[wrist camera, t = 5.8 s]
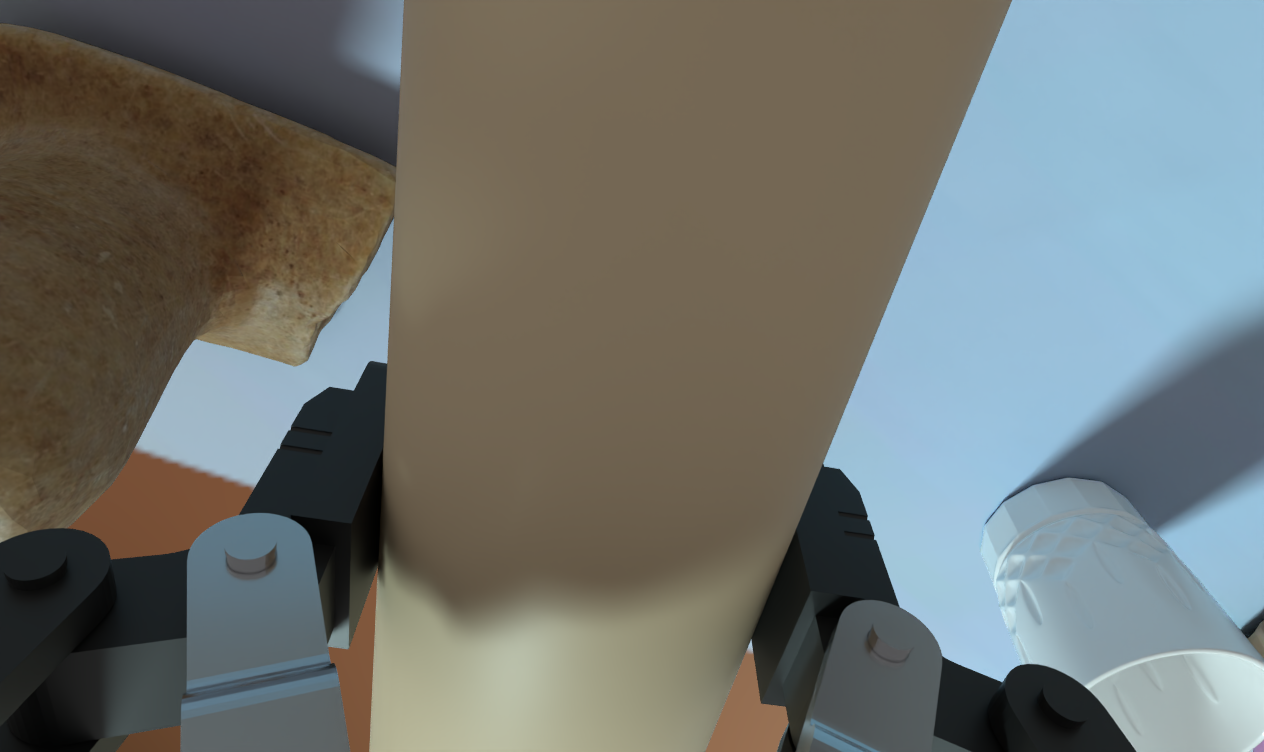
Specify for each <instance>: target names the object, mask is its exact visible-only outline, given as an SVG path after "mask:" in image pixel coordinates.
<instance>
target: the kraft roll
mask: <svg viewBox="0 0 1264 752" xmlns="http://www.w3.org/2000/svg"><path fill="white" fill-rule="evenodd" d="M1011 1H1012V0H404V13H403V35H402V57H401V78H400V100H399V122H398V144H397V165H396V187H395V209H394V231H393V252H392V274H391V296H390V318H389V339H388V361H387V383H386V405H385V426H384V448H383V470H382V492H381V513H380V535H379V557H378V579H377V601H376V623H375V624H376V625H375V644H374V666H373V667H374V668H373V688H372V710H371V731H370V732H371V733H370V752H705V751H706V748H707V746H708V743H709V741H710V739H711V736H712V733H713V731H714V729H715V726H716V724H717V721H718V719H719V716H720V714H721V712H722V709H723V707H724V704H725V702H726V699H727V697H728V694H729V692H730V689H731V687H732V685H733V682H734V680H735V677H736V675H737V672H738V670H739V668H740V665H741V663H742V660H743V657H744V655H745V653H746V650H747V648H748V645H749V643H750V641H751V638H752V636H753V633H754V631H755V628H756V626H757V623H758V621H759V619H760V616H761V614H762V611H763V609H764V606H765V604H766V601H767V599H768V596H769V594H770V592H771V589H772V587H773V584H774V582H775V579H776V577H777V574H778V572H779V570H780V567H781V565H782V562H783V560H784V557H785V555H786V552H787V550H788V548H789V545H790V543H791V540H792V538H793V535H794V533H795V530H796V528H797V525H798V523H799V521H800V518H801V516H802V513H803V511H804V508H805V506H806V503H807V501H808V499H809V496H810V494H811V491H812V489H813V486H814V484H815V481H816V479H817V477H818V474H819V472H820V469H821V467H822V464H823V462H824V459H825V457H826V454H827V452H828V450H829V447H830V445H831V442H832V440H833V437H834V435H835V432H836V430H837V428H838V425H839V423H840V420H841V418H842V415H843V413H844V410H845V408H846V406H847V403H848V401H849V398H850V396H851V393H852V391H853V388H854V386H855V383H856V381H857V379H858V376H859V374H860V371H861V369H862V366H863V364H864V361H865V359H866V357H867V354H868V352H869V349H870V347H871V344H872V342H873V339H874V337H875V334H876V332H877V330H878V327H879V325H880V322H881V320H882V317H883V315H884V312H885V310H886V308H887V305H888V303H889V300H890V298H891V295H892V293H893V290H894V288H895V286H896V283H897V281H898V278H899V276H900V273H901V271H902V268H903V266H904V263H905V261H906V259H907V256H908V254H909V251H910V249H911V246H912V244H913V241H914V239H915V237H916V234H917V232H918V229H919V227H920V224H921V222H922V219H923V217H924V215H925V212H926V210H927V207H928V205H929V202H930V200H931V197H932V195H933V192H934V190H935V188H936V185H937V183H938V180H939V178H940V175H941V173H942V170H943V168H944V166H945V163H946V161H947V158H948V156H949V153H950V151H951V148H952V146H953V143H954V141H955V139H956V136H957V134H958V131H959V129H960V126H961V124H962V121H963V119H964V117H965V114H966V112H967V109H968V107H969V104H970V102H971V99H972V97H973V95H974V92H975V90H976V87H977V85H978V82H979V80H980V77H981V75H982V72H983V70H984V68H985V65H986V63H987V60H988V58H989V55H990V53H991V50H992V48H993V46H994V43H995V41H996V38H997V36H998V33H999V31H1000V28H1001V26H1002V24H1003V21H1004V19H1005V16H1006V14H1007V11H1008V9H1009V6H1010V4H1011Z"/></svg>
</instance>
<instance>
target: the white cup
mask: <svg viewBox="0 0 1264 752" xmlns="http://www.w3.org/2000/svg"><path fill="white" fill-rule="evenodd" d="M980 552H981V555H982V557H983V560H984V562H985V565H986V567H987V570H988V572H989V574H990V577H991V579H992V582H993V584H994V587H995V590H996V593H997V596H998V601H999V607H1000V609H1001V612H1002V615H1003V618H1004V621H1005V624H1006V627H1007V629H1008V632H1009V636H1010V638H1011V641H1012V643H1013V646H1014V648H1015V651H1016V653H1017V656H1018V659H1019V661H1020V664H1021V665H1023V664H1039V665H1044V666H1048V667H1051V668H1054V669H1056V670H1058V671H1061V672H1063V673H1065V674H1067V675H1068V676H1070V677H1072V678H1074V679H1075V680H1076V681H1078V682H1079V683H1081V684H1082V685H1083V686H1085V687H1086V688H1087V689H1088V690H1089V691H1090V692H1091V693H1092V694H1093V695H1094V696H1095V697H1096V698H1097V699H1098V700H1099V701H1100V702H1101V703H1102V705H1103V706H1104V707H1105V708H1106V710H1107V711H1108V713H1109V714H1110V715H1111V717H1112V718H1113V720H1114V721H1115V722H1116V724H1117V725H1118V727H1119V728H1120V729H1121V731H1122V732H1123V733H1124V735H1125V736H1126V738H1127V739H1128V740H1129V742H1130V743H1131V745H1132V746H1133V747H1134V749H1135V750H1136V752H1250V751H1251V750H1252V749H1254V748H1255V747H1256V746H1257V745H1259V744H1260V743H1261V742H1262V741H1263V740H1264V658H1263V657H1262V655H1261V654H1260V653H1259V652H1258V651H1257V649H1256V648H1255V647H1254V646H1253V645H1252V643H1251V642H1250V641H1249V640H1248V639H1247V637H1246V636H1245V635H1244V634H1243V633H1242V631H1241V630H1240V629H1239V628H1238V627H1237V625H1236V624H1235V623H1234V622H1233V621H1232V619H1231V618H1230V617H1229V616H1228V615H1227V613H1226V612H1225V611H1224V610H1223V609H1222V607H1221V606H1220V605H1219V604H1218V602H1217V601H1216V600H1215V599H1214V598H1213V596H1212V595H1211V594H1210V593H1209V592H1208V590H1207V589H1206V588H1205V587H1204V586H1203V584H1202V583H1201V582H1200V581H1199V580H1198V578H1197V577H1196V576H1195V575H1194V574H1193V573H1192V571H1191V570H1190V569H1189V568H1188V567H1187V566H1186V565H1185V564H1184V563H1183V562H1182V561H1181V560H1180V559H1179V558H1178V557H1177V555H1176V554H1175V553H1174V551H1173V550H1172V549H1171V547H1170V546H1169V545H1168V544H1167V543H1166V542H1165V541H1164V540H1163V539H1162V538H1161V537H1160V536H1159V535H1158V534H1157V533H1156V532H1155V531H1154V530H1153V529H1152V528H1150V527H1149V525H1148V524H1147V523H1146V521H1145V520H1144V519H1143V518H1142V517H1141V515H1140V514H1139V513H1138V512H1137V510H1136V509H1135V508H1134V507H1133V505H1132V504H1131V503H1130V502H1129V501H1128V499H1127V498H1126V497H1125V496H1123V495H1122V494H1120V493H1119V492H1117V491H1115V490H1114V489H1112V488H1111V487H1109V486H1108V485H1106V484H1105V483H1103V482H1101V481H1094V480H1086V479H1078V478H1069V477H1068V478H1063V479H1058V480H1053V481H1049V482H1044V483H1040V484H1035V485H1032V486H1030V487H1029V488H1027V489H1025V490H1024V491H1022V492H1020V493H1018V494H1017V495H1015V496H1013V497H1012V498H1010V499H1008V500H1006V501H1005V502H1003V503H1002V505H1001V506H1000V507H999V508H998V509H997V511H996V512H995V513H994V514H993V516H992V517H991V518H990V519H989V521H988V522H987V523H986V524H985V526H984V531H983V536H982V542H981V548H980Z"/></svg>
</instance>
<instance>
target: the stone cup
mask: <svg viewBox="0 0 1264 752" xmlns="http://www.w3.org/2000/svg"><path fill="white" fill-rule="evenodd" d="M395 187H396V167H395V166H393V165H391V164H389V163H387V162H385V161H383V160H381V159H379V158H377V157H375V156H373V155H371V154H368V153H366V152H363V151H361V150H359V149H356V148H354V147H352V146H349V145H347V144H344V143H342V142H340V141H338V140H336V139H334V138H332V137H330V136H328V135H326V134H324V133H321V132H319V131H316V130H314V129H312V128H309V127H307V126H304V125H302V124H299V123H297V122H294V121H292V120H289V119H287V118H284V117H282V116H279V115H277V114H274V113H272V112H269V111H266V110H264V109H261V108H258V107H256V106H253V105H250V104H248V103H245V102H243V101H240V100H238V99H236V98H233V97H231V96H229V95H226V94H224V93H222V92H219V91H217V90H214V89H211V88H209V87H206V86H204V85H201V84H199V83H196V82H194V81H191V80H188V79H186V78H183V77H181V76H178V75H176V74H173V73H170V72H168V71H165V70H162V69H160V68H157V67H154V66H152V65H149V64H146V63H143V62H140V61H137V60H134V59H131V58H128V57H125V56H122V55H119V54H116V53H114V52H111V51H108V50H105V49H102V48H99V47H96V46H93V45H90V44H87V43H83V42H80V41H77V40H74V39H71V38H68V37H65V36H62V35H59V34H55V33H51V32H47V31H43V30H39V29H35V28H31V27H25V26H19V25H13V24H7V23H0V543H1V542H3V541H5V540H7V539H10V538H12V537H15V536H18V535H21V534H24V533H28V532H32V531H36V530H43V529H50V528H67V527H69V526H70V525H72V524H73V522H75V520H77V519H78V518H79V517H80V516H81V515H82V514H83V513H84V512H85V511H86V510H87V509H88V508H89V507H90V506H91V505H92V504H93V503H94V502H95V501H96V500H97V499H98V498H99V497H100V496H101V495H102V494H103V493H104V492H105V491H106V490H107V489H108V488H109V487H110V486H111V485H112V484H113V482H114V481H115V479H116V477H117V476H118V475H119V473H120V472H121V470H122V469H123V467H124V466H125V464H126V463H127V461H128V459H129V457H130V455H131V453H132V452H133V450H134V448H135V446H136V444H137V443H138V441H139V439H140V437H141V435H142V433H143V431H144V429H145V427H146V425H147V423H148V421H149V419H150V417H151V415H152V413H153V412H154V410H155V408H156V406H157V404H158V402H159V400H160V398H161V396H162V394H163V392H164V390H165V388H166V386H167V384H168V382H169V380H170V378H171V376H172V374H173V372H174V370H175V368H176V367H177V365H178V364H179V362H180V360H181V358H182V357H183V355H184V353H185V352H186V350H187V349H188V348H189V346H190V345H191V343H192V342H193V341H194V340H195V339H198V340H201V341H205V342H209V343H213V344H217V345H222V346H226V347H231V348H235V349H238V350H241V351H245V352H248V353H252V354H255V355H259V356H262V357H266V358H269V359H272V360H276V361H279V362H283V363H286V364H289V365H292V366H298V365H301V364H303V363H304V362H306V361H308V359H309V357H310V354H311V352H312V350H313V348H314V345H315V343H316V340H317V338H318V335H319V333H320V332H321V330H322V329H323V328H324V327H325V326H326V325H327V324H328V323H329V322H330V320H331V318H332V317H333V315H334V314H335V312H336V310H337V309H338V307H339V306H340V305H341V303H342V302H344V301H346V300H348V298H349V297H350V296H351V295H352V293H353V292H354V291H355V290H356V287H357V285H358V283H359V281H360V279H361V277H362V276H363V275H364V273H365V272H366V271H367V270H368V268H369V266H370V264H371V262H372V260H373V259H374V257H375V255H376V253H377V251H378V249H379V247H380V245H381V242H382V240H383V238H384V236H385V234H386V232H387V230H388V228H389V226H390V224H391V222H392V220H393V217H394V209H395Z"/></svg>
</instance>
